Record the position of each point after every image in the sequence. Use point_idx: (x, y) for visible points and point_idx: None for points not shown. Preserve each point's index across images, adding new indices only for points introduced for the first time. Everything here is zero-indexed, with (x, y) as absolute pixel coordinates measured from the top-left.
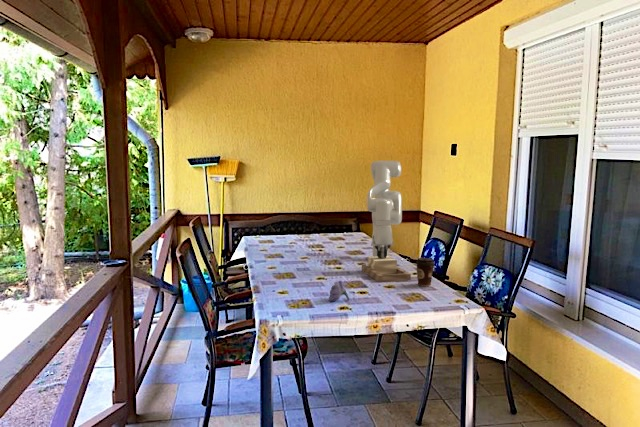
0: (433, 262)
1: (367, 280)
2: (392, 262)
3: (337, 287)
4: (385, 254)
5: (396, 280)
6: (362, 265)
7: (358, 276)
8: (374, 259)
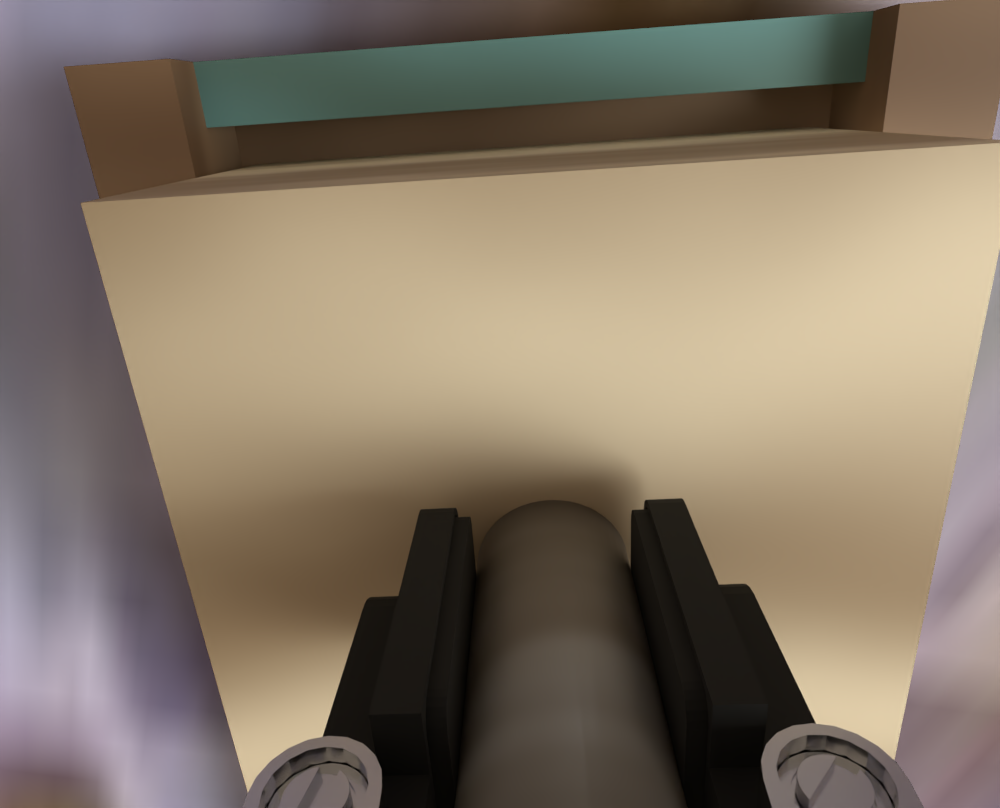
0: None
1: (188, 759)
2: None
3: None
4: None
5: None
6: (88, 140)
7: (61, 542)
8: (273, 658)
